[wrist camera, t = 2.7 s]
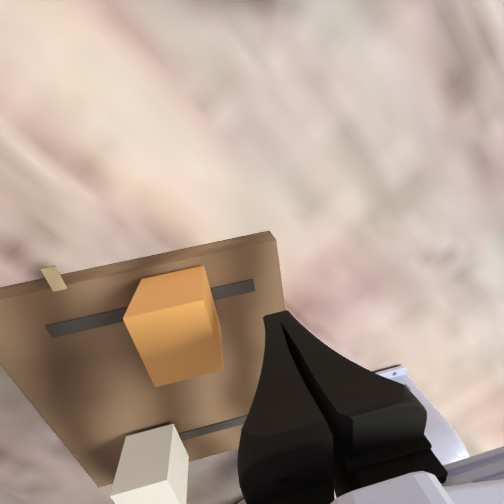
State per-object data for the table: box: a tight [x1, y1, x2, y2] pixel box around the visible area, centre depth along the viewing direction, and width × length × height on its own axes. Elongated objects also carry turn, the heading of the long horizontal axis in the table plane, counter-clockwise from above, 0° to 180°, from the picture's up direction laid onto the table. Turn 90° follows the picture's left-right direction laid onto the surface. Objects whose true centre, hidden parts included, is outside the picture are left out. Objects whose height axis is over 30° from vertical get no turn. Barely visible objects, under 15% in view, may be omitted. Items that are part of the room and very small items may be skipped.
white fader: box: [110, 424, 189, 504], centre depth 21 cm, size 4×5×4 cm
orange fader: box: [123, 265, 224, 387], centre depth 15 cm, size 4×5×4 cm
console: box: [0, 231, 285, 487], centre depth 21 cm, size 20×23×2 cm
